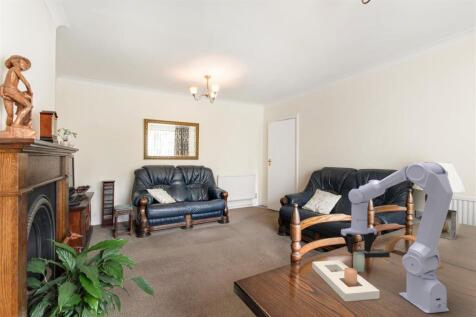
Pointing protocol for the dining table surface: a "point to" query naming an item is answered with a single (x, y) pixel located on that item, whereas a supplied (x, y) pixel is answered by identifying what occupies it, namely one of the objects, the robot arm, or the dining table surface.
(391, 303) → the dining table surface
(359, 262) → the peg sage
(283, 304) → the dining table surface
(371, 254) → the multiport hub
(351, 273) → the peg terracotta
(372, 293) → the white flat block
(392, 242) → the arch
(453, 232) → the coffee box
